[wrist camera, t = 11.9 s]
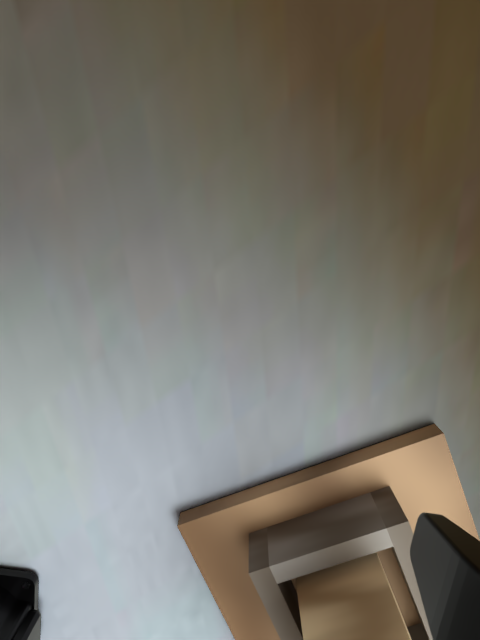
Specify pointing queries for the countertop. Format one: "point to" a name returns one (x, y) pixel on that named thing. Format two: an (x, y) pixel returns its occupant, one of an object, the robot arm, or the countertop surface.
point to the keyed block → (350, 603)
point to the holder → (324, 531)
